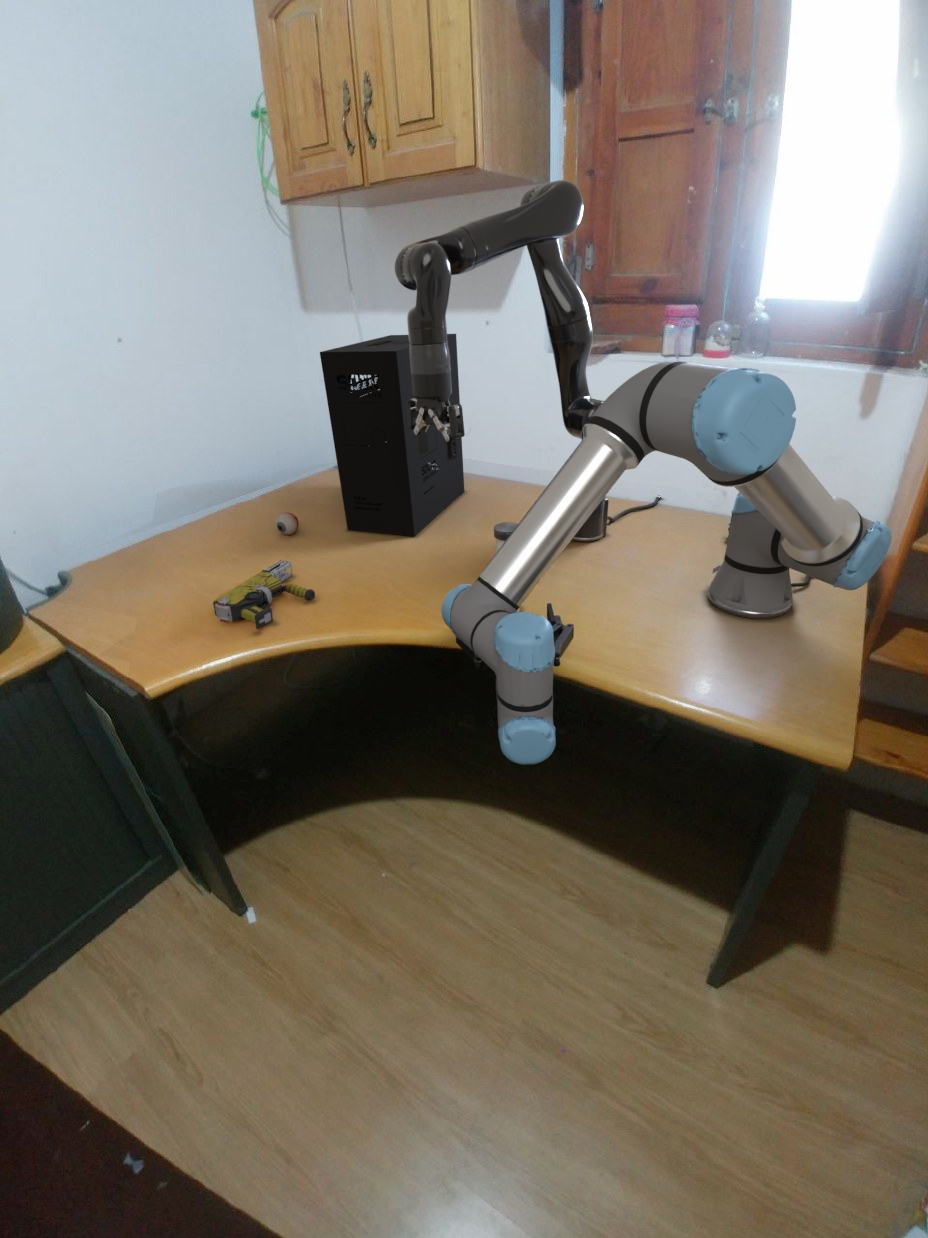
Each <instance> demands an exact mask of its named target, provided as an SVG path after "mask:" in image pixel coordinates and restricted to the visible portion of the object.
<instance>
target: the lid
mask: <svg viewBox="0 0 928 1238" xmlns="http://www.w3.org/2000/svg"><path fill="white" fill-rule="evenodd" d="M518 524H519V523H517V522H512V521H505V522H504V521H503V522H499V523H497V524H494V526H493V537H494V538H495V540H496V539H499V540H504V541H506V540H507V538H508V537H509V536H510V534H511V533H512V532H513V530H514V529H515V528H516V526H517V525H518Z"/></svg>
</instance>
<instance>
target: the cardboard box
mask: <svg viewBox="0 0 928 1238" xmlns="http://www.w3.org/2000/svg"><path fill="white" fill-rule="evenodd" d="M457 341H458V340H457V333H447V342H448V349H449V354H450V367H451V383H452V393H451V395H450V396H449V402H450V405H457V404H461V399H460V398H461V397H460V379H459V361H458V360H459V359H458V343H457ZM319 358H320V364H321V370H322V376H323V382H324V388H325V396H326V401H327V407H328V414H329V421H330V426H331V432H332V433H331V434H332V440H333V446H334V451H335V452H334V453H335V458H336V459H335V460H336V465H337V471H338V478H339V484H340V490H341V496H342V501H343V503H342V504H343V509H344V515H345V522H346V529H347V530H348V531H356V532H365V533H377V534H384V535H385V534H387V535H396V536H406V537H416V536H417V535H418V534H419V533H421V532H422V531H423V530H424V529H425V528H426V527H427V526H428V525H429V524H430V523H431V522H433V520H435V519H436V518H437V517H438V516H439V515H440V514H442V513H443V512H444V510H446V509H447V508H448V507H449V506H450V505H451V504H452V503H454V502H455V501H456V500H457V499H458V498H459V497H460V496H462V494H463V493H465V475H464V474H465V473H464V459H463V457H464V455H463V437H461V438H458V439H457V453H458V454H457V458H456V459H454V460H451V461H449V460H447V459H446V450H445V441H446V440H445V438H444V436H443V434H442V432H440V431H438V429H437V427H434V426H432V425H429V427H428V429H427V432H425V433H426V434H427V435H428V446H429V451H428V452H427V453H424V454H420V453H419V452H418V448H417V438H416V435H415V434H414V431H413V430H409V429H408V420H407V405H406V401H407V400H409V399H413V398H415V397H414V396H413V393H412V382H411V372H410V361H409V335H408V334H389V335H386V336H381V337H377V338H373V339H368V340H364V341H360V342H355V343H351V344H348V345H344V346H340V347H335V348H331V349H326V350H323V351H319ZM352 376H353V377H352ZM356 376H357V378H356ZM361 376H362V377H361ZM369 376H370V377H369ZM362 378H363V379H362ZM413 423H415V418H413ZM445 424H448V423H447V421H446V422H445ZM447 431H448V433H449V434H451V433H450V431H449V430H447ZM456 431H458V425H457V426H456Z"/></svg>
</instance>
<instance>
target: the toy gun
mask: <svg viewBox="0 0 928 1238" xmlns="http://www.w3.org/2000/svg"><path fill="white" fill-rule="evenodd" d="M288 569H290V570H291V571H290V572H287V570H288ZM292 576H293V565H292V562H291V561H290V560H286V561H285V560H284V559H280V560H279V561H277V562H275V563H273V565H271V566H269V567H268V568H266V569H262V570H261V571H259V572H258V573H255V575H253V576H251V577H250V578H248V579H246V580H245V581H243V582H241V583H240V584H238V585H236V586H234V587H233V588H232V589H230V590H228V591H227V592H225V593H224V594H222V595H220V596H219V597H217V598H216V599H214V600H213V601H212V605H213V612H214V616H215V617H216V618H217V619H219V622H221V623H225V624H227V623H229V622H230V623H236V622H238V623H239V622H242V621H246V620H247V621H249V622H252V623H254V624H255V628H256V630H261V629H263V628H264V627H266V626H268V625H270V624H271V623H273V622H274V615H273V609H272V607H271V605H272V603H273V599H274V598H276V597H279V596H281V595H282V594H283V593H287V594H291V595H293V596H296V597H299V598H300V599H304V600H306V601H308V602H311V601H312V600H314V599H315V598H316V593H315V591H314V589H312V588H307V587H305V586H302V585H299V584H296V583H293V582H292V581H289V582H286V584H285V585H284V584H283V583H282V582H284V581H286V580H287V579H288V578H290V577H292Z"/></svg>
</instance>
